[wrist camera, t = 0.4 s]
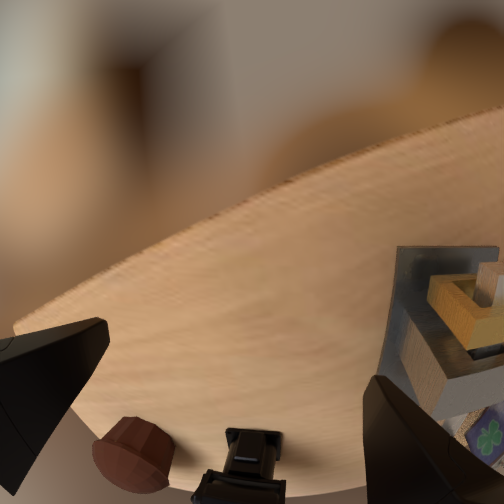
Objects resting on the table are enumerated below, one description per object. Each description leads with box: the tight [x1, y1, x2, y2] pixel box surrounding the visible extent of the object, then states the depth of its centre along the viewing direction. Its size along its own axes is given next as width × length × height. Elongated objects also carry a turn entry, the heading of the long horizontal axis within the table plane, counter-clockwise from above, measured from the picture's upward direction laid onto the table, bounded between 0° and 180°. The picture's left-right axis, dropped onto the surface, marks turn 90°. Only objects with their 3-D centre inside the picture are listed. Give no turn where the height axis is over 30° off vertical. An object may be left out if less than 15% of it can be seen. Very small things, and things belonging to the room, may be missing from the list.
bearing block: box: [376, 246, 504, 421], centre depth 17 cm, size 18×11×10 cm, turn 3°
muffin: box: [92, 417, 176, 494], centre depth 28 cm, size 12×11×10 cm
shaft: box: [436, 262, 504, 439], centre depth 13 cm, size 18×3×6 cm, turn 3°
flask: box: [464, 401, 504, 470], centre depth 18 cm, size 9×3×11 cm, turn 171°
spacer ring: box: [427, 273, 504, 350], centre depth 14 cm, size 2×7×7 cm, turn 93°
